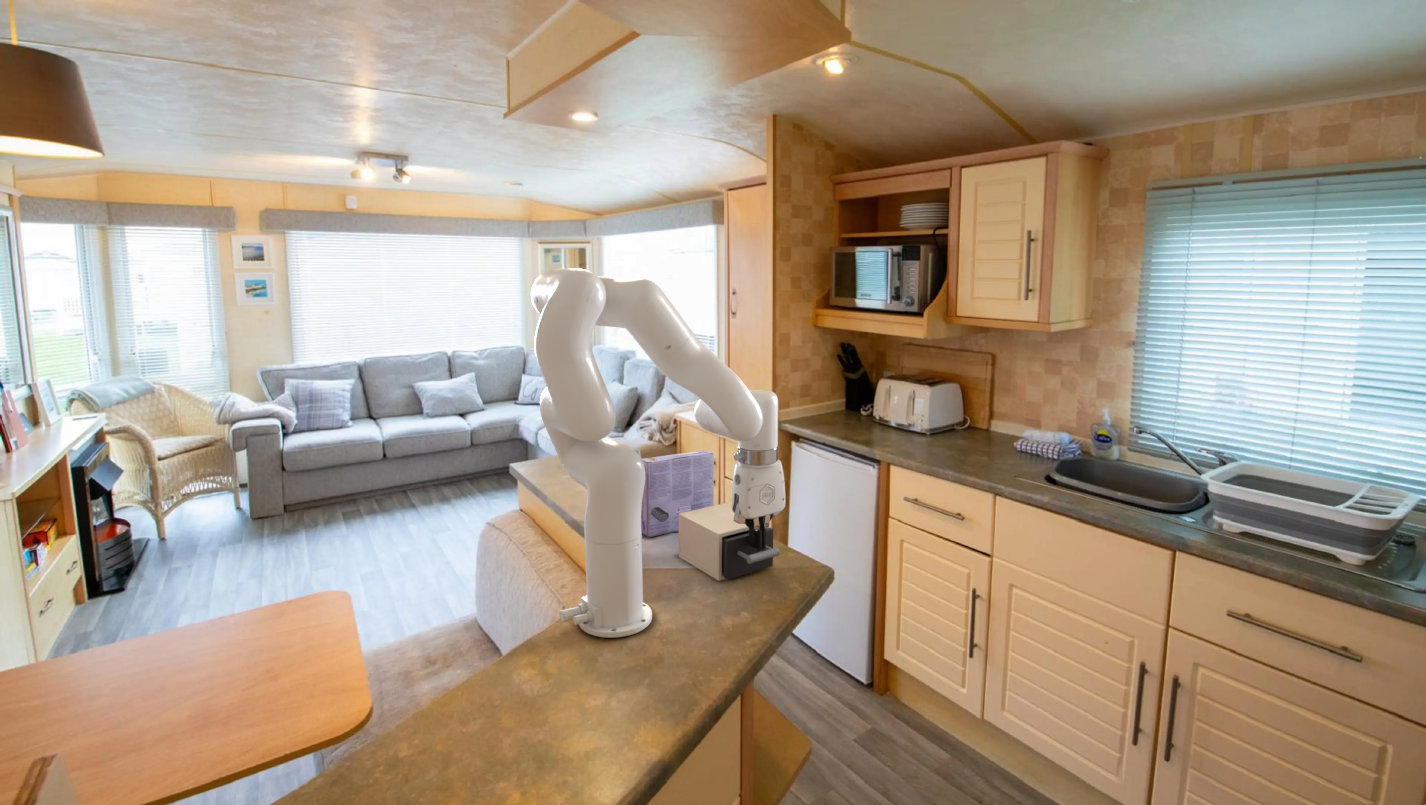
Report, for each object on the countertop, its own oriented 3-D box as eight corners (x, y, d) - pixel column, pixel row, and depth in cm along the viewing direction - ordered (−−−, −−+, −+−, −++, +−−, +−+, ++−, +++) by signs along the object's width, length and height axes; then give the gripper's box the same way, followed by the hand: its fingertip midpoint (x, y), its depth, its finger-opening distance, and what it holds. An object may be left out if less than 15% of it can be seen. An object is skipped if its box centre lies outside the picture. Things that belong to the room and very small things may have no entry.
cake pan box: (707, 516, 172) (707, 447, 168) (718, 522, 167) (718, 451, 164) (637, 532, 161) (636, 458, 158) (648, 539, 157) (646, 463, 154)
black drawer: (787, 573, 137) (788, 535, 135) (741, 588, 130) (742, 548, 129) (733, 544, 151) (733, 510, 150) (689, 556, 145) (688, 521, 143)
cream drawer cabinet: (768, 565, 143) (769, 521, 141) (718, 580, 135) (718, 534, 134) (726, 543, 154) (727, 502, 153) (678, 556, 147) (678, 513, 146)
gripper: (738, 466, 124) (738, 562, 128) (800, 453, 133) (799, 544, 136) (714, 457, 130) (714, 549, 134) (775, 445, 139) (774, 532, 142)
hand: (757, 546), depth 135 cm, fingers closed
